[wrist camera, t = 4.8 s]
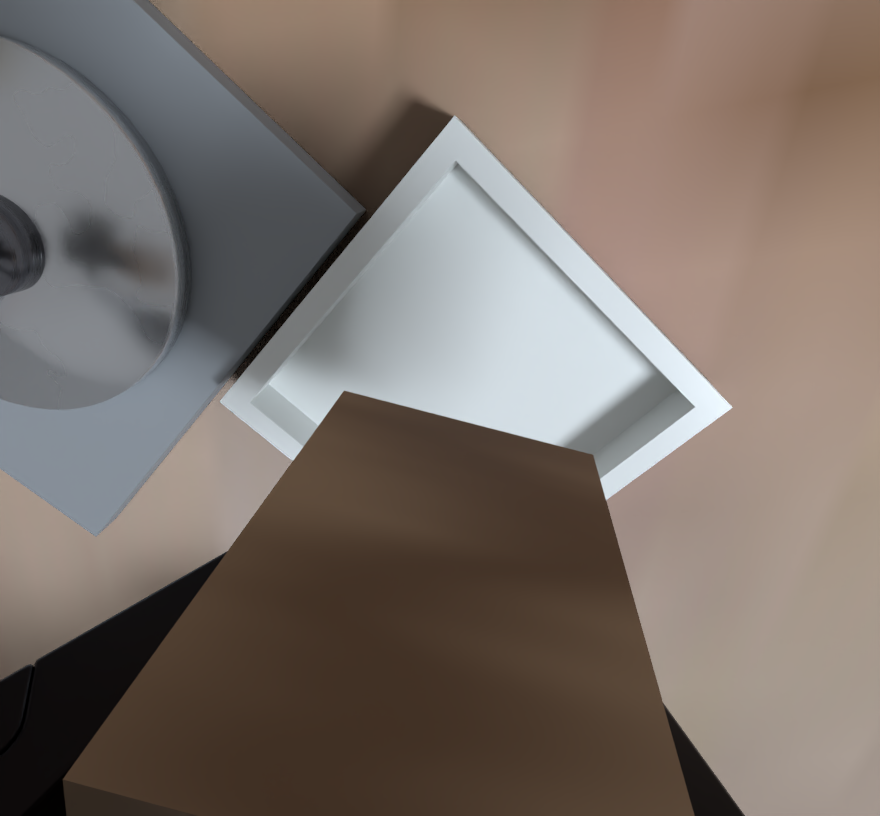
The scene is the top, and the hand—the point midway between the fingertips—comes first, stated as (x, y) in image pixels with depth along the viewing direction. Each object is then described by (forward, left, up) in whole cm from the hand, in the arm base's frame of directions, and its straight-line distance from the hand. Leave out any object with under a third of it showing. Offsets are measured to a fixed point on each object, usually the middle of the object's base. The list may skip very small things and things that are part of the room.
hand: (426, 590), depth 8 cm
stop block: (0, 0, -2) cm, 2 cm away
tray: (0, 0, -8) cm, 8 cm away
